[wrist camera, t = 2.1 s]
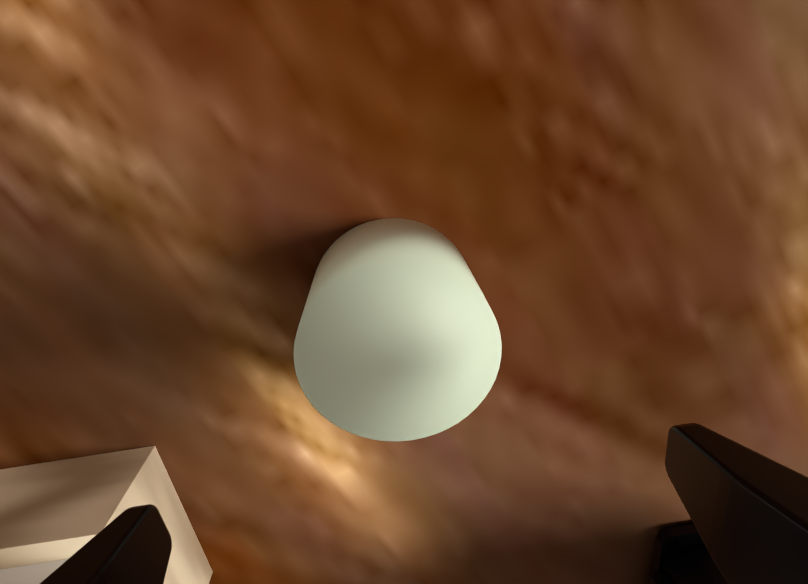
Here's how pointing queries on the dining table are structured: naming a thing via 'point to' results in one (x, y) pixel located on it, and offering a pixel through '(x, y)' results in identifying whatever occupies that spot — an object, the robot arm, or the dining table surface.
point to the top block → (29, 573)
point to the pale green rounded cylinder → (395, 333)
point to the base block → (91, 509)
